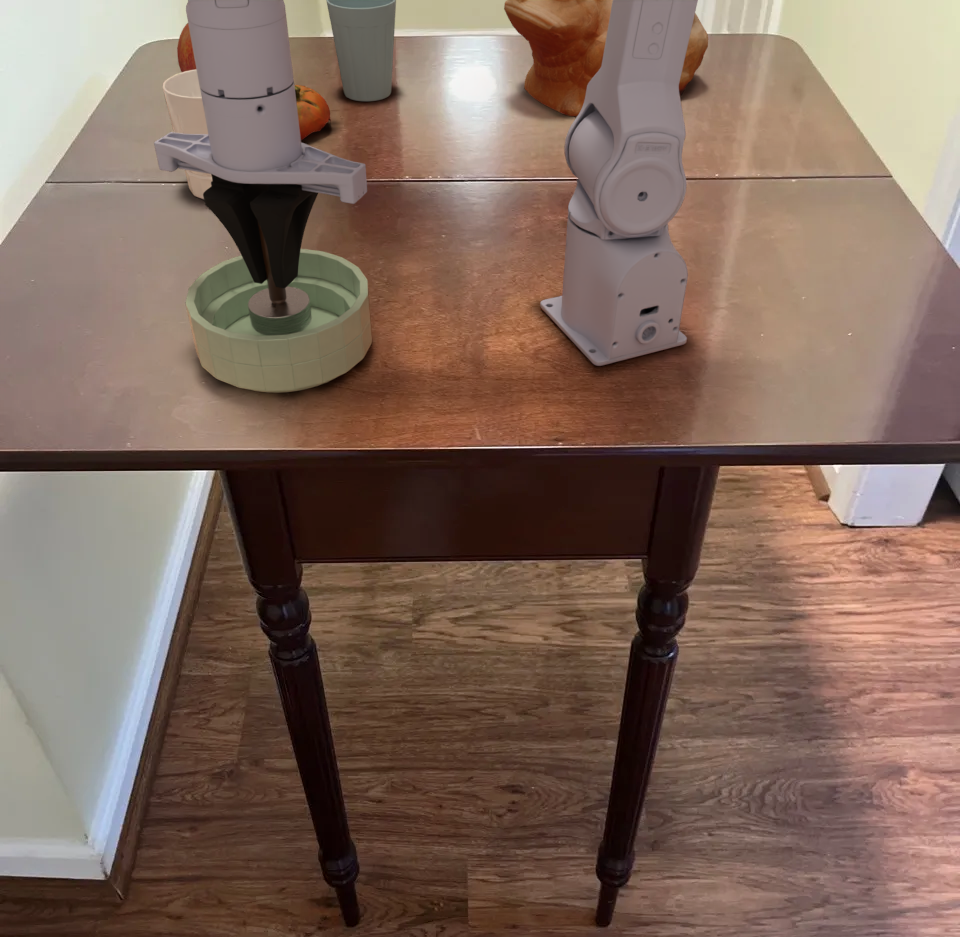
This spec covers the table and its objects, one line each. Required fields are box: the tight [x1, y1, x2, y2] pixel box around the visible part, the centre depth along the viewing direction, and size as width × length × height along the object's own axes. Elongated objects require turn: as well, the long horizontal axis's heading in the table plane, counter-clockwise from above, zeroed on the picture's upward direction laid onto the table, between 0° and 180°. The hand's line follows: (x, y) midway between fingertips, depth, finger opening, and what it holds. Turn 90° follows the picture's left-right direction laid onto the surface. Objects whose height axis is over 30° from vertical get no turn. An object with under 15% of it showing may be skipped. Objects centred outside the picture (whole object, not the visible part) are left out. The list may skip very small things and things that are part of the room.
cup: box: [326, 0, 397, 102], centre depth 109 cm, size 8×8×10 cm
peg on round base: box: [248, 223, 312, 336], centre depth 67 cm, size 4×4×9 cm
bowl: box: [184, 248, 373, 394], centre depth 70 cm, size 13×13×5 cm
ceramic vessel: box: [503, 0, 709, 117], centre depth 109 cm, size 14×26×15 cm, turn 117°
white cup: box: [161, 69, 212, 200], centre depth 90 cm, size 8×8×10 cm
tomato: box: [294, 84, 332, 141], centre depth 103 cm, size 8×7×7 cm
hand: (276, 279), depth 68 cm, fingers closed on peg on round base
